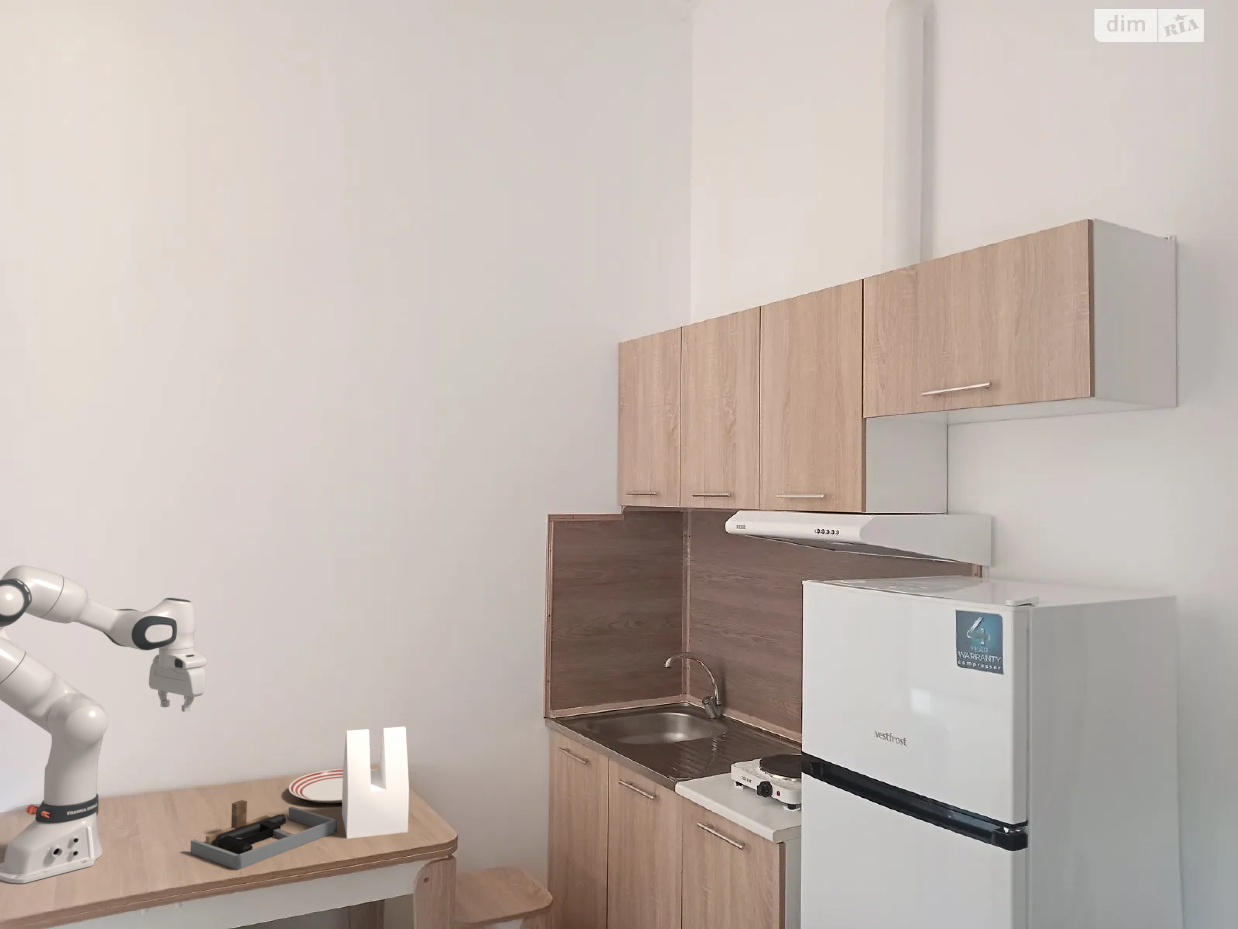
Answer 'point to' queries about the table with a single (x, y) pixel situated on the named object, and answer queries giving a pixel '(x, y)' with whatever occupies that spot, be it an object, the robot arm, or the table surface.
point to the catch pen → (235, 861)
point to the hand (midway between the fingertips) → (175, 709)
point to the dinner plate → (319, 786)
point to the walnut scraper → (235, 820)
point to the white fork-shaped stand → (375, 785)
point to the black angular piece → (252, 834)
